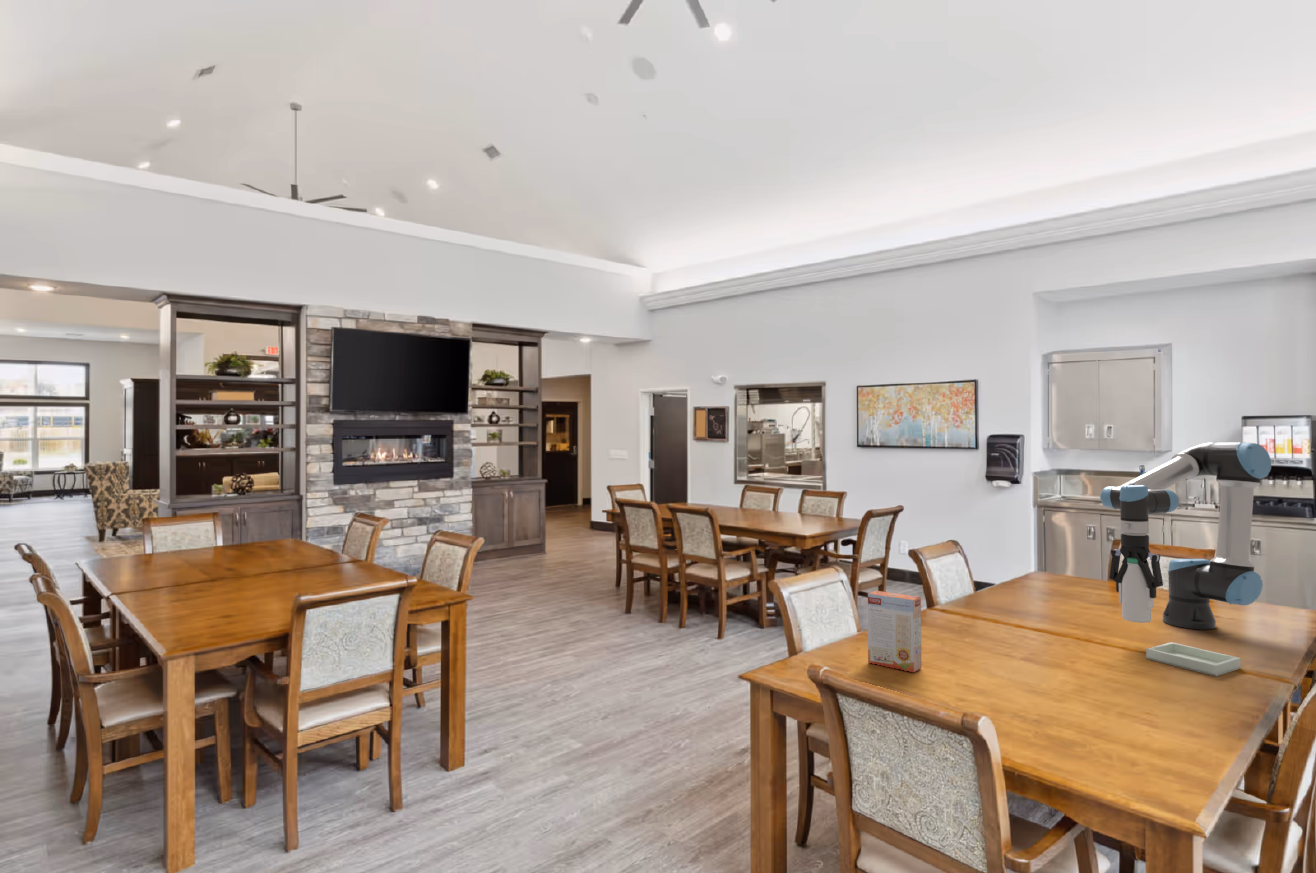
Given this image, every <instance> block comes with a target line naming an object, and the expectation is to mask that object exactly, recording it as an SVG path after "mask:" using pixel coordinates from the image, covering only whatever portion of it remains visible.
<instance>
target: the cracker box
mask: <svg viewBox="0 0 1316 873" xmlns="http://www.w3.org/2000/svg"><path fill="white" fill-rule="evenodd" d="M867 663H868V664H871V663H872V664H871V665H875V664H877V665H876V666H880V665H881V666H882V667H884V666H885V668H889V667H890V669H894V668H897V669H896V670H898V669H901V670H900V671H903V670H904V671H903V672H907V671H909V672H908V673H911V672H914V673H916V672H917V671H919V670H921V669H922V597H921V596H915V595H908V594H902V593H895V592H887V591H881V590H874V591H871V592H868V593H867Z"/></svg>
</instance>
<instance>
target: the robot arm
mask: <svg viewBox="0 0 1316 873" xmlns="http://www.w3.org/2000/svg"><path fill="white" fill-rule="evenodd" d="M1271 470H1272V459H1271V455H1270V454H1269V452H1268V451H1267V449H1266V448H1265V447H1264V446H1263V445H1261V444H1259V443H1255V442H1245V441H1243V442H1242V441H1241V442H1240V441H1239V442H1231V441H1230V442H1227V441H1226V442H1224V441H1223V442H1221V441H1220V442H1218V441H1217V442H1216V441H1213V442H1212V441H1211V442H1204V443H1201V444H1197V445H1195V446H1192V447H1189V448H1187V449H1184V450H1182V451H1179V452H1178V453H1175V454H1174V455H1173V456H1172V457H1171V459H1170V460H1169V461H1167V462H1165V463H1163V464H1161V465H1159V466H1156V467H1155V468H1153V469H1151V470H1149V471H1146V472H1145V473H1143V474H1141V475H1138V476H1137V477H1135V478H1133V479H1131V480H1129V481H1127V482H1124V483H1123V484H1121V485H1119V486H1115V485H1112V486H1108V485H1107V486H1106V487H1104V488H1102V489H1101V492H1100V496H1099V498H1100V501H1101V504H1102V505H1103V507H1105V508H1108V509H1114V510H1120V522H1119V523H1120V532H1121V534H1120V545H1121V547H1120V548H1119V549H1118V548H1114V549H1111V550H1110V553H1111V561H1110V571H1109V578H1108V579H1110V580H1112V581H1114V582H1115V591H1116V592H1117V593H1118V603H1119V604H1121V605H1122V580H1123V577H1124V575H1125V573H1126V571H1127V568H1128V564H1127V558H1129V557H1130V558H1135V559H1137V560H1138V565H1139V567H1141V570H1142V572H1143V574H1144V577H1145V579H1146V581H1147V584H1148V586H1149V587H1147V588H1146V608H1147V609H1150V608H1151V609H1153V608H1155V607H1154V599H1156V598H1157V588H1159V587H1163V586H1164V581H1163V575H1162V570H1161V565H1160V564H1161V563H1160V561H1161V554H1154V553H1152V552H1151V551H1150V548H1149V547H1150V536H1149V533H1150V528H1149V526H1150V523H1149V515H1153V514H1167V513H1172V512H1174V511H1176V510H1177V508H1178V507H1179V502H1180V501H1179V497H1178V495H1177V493H1176V492H1174V491H1173V490H1171V489H1169V488H1170V487H1171V486H1174V485H1176V484H1178V483H1179V482H1182V481H1184V480H1190V479H1194V478H1197V477H1198V476H1200V477H1201V476H1216V482H1217V483H1218V484H1219V485H1220V501H1219V516H1218V527H1217V528H1218V529H1217V530H1218V531H1217V542H1216V553H1215V554H1216V555H1215V556H1214V557H1213V558H1211V559H1210V560H1209V559H1207V558H1178V559H1177V558H1176V559H1175V558H1174V559H1172V560H1170V561H1169V564H1168V570H1167V572H1168V601H1167V604H1166V606H1165V609H1164V610H1163V613H1162V622H1163V623H1165V624H1167V625H1171V626H1174V627H1178V628H1185V629H1191V630H1192V629H1193V630H1213V629H1216V627H1217V624H1216V623H1217V622H1216V618H1215V615H1214V613H1213V611H1212V607H1211V605H1210V600H1213V601H1217V602H1221V603H1226V604H1229V605H1238V606H1249V605H1251V604H1253V603H1254V602H1255V601H1257V599H1258V598H1259V597H1260V596H1261V592H1262V591H1263V587H1264V586H1263V585H1264V584H1263V580H1262V577H1261V575H1260V574H1259V573H1257V572H1256V571H1255V565H1254V564H1253V563H1252V562H1251V561H1250V551H1251V550H1250V549H1251V534H1252V523H1253V522H1252V521H1253V519H1252V518H1253V508H1254V507H1253V506H1254V494H1255V489H1256V488H1257V487H1258V486H1260V485H1261V479H1264V478H1267V477H1268V475H1269V473H1270V472H1271ZM1121 555H1122V556H1123V559H1122V562H1121V560H1120V559H1121ZM1148 558H1149V561H1150V563H1149V561H1148ZM1120 562H1121V566H1120ZM1143 562H1144V564H1143ZM1149 564H1150V565H1151V569H1150V566H1149ZM1119 567H1120V568H1119Z"/></svg>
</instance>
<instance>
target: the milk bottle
mask: <svg viewBox="0 0 1316 873" xmlns="http://www.w3.org/2000/svg"><path fill="white" fill-rule="evenodd" d="M1127 564H1128V568H1127V571H1126V573H1125V575H1124V577H1123V580H1122V604H1121V612H1122V613H1121V616H1122V617H1121V618H1123V620H1125V621H1127V622H1130V623H1131V622H1132V623H1142V624H1143V623H1144V624H1145V623H1146V624H1147V623H1151V621H1152V608H1150V609H1147V608H1146V588H1147V587H1149V586H1148V584H1147V581H1146V579H1145V577H1144V574H1143V572H1142V570H1141V567H1139V565H1138V560H1137V559H1135V558H1130V557H1129V558H1127ZM1143 564H1144V562H1143Z"/></svg>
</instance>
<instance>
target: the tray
mask: <svg viewBox="0 0 1316 873" xmlns="http://www.w3.org/2000/svg"><path fill="white" fill-rule="evenodd" d="M1145 650H1146V652H1145V654H1146V659H1147V660H1150V661H1153V662H1156V663H1157V662H1158V663H1161V664H1165V665H1169V666H1173V667H1176V668H1177V667H1178V668H1182V669H1185V670H1189V671H1193V672H1197V673H1201V674H1205V675H1208V676H1209V675H1210V676H1213V677H1218V676H1221V675H1225V674H1229V673H1230V672H1235V671H1236V670H1240V669H1241V666H1242V665H1241V659H1242V658H1241V657H1238V656H1234V655H1230V654H1224V653H1220V652H1215V651H1212V650H1208V649H1207V650H1206V649H1202V648H1198V647H1194V646H1190V645H1185V644H1182V643H1181V644H1180V643H1177V642H1172V641H1170V642H1167V643H1164V644H1159V645H1155V646H1152V647H1149V648H1146V649H1145Z"/></svg>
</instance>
